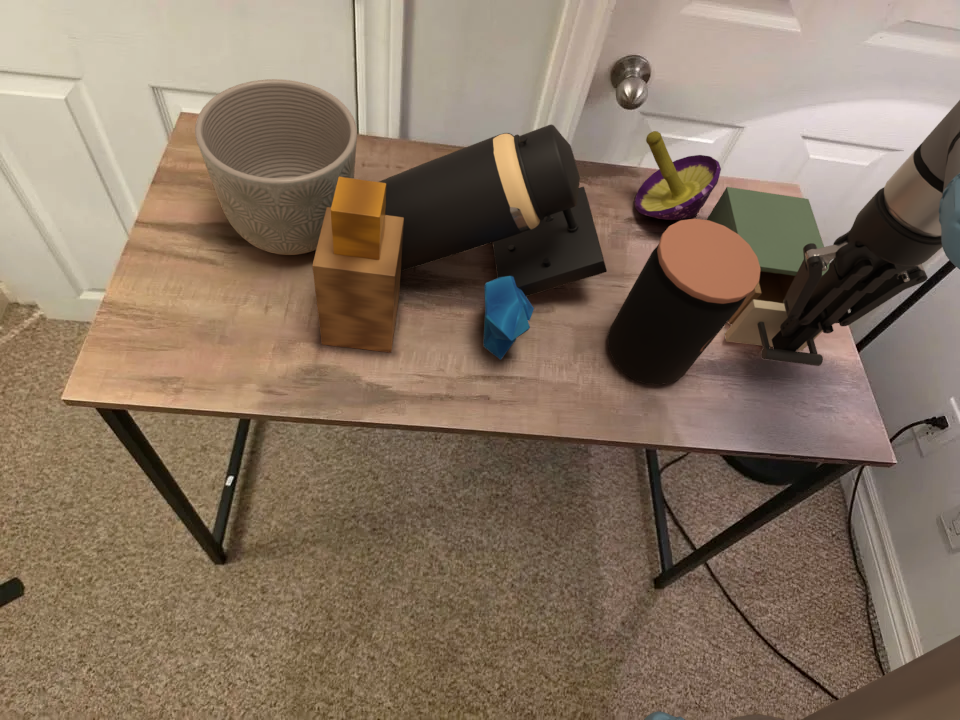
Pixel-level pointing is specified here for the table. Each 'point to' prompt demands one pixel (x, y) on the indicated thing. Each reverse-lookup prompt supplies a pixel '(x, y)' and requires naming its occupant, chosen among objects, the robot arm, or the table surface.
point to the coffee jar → (682, 300)
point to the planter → (276, 159)
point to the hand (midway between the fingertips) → (779, 349)
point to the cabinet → (770, 226)
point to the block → (358, 218)
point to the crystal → (504, 315)
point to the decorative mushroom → (676, 183)
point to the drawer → (768, 321)
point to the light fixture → (501, 209)
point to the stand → (358, 290)
